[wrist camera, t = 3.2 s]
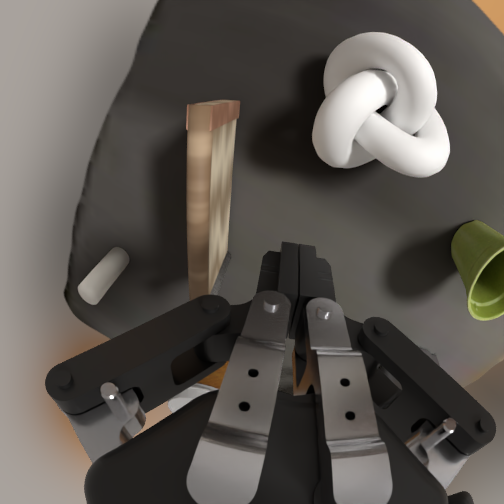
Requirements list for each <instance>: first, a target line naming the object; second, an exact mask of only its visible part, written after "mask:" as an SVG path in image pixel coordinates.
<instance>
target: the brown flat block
mask: <svg viewBox="0 0 504 504" xmlns="http://www.w3.org/2000/svg"><path fill="white" fill-rule="evenodd" d="M239 108H240V101H235V100H217V101H209V102H202V103H196V104H190V105H187V124H186V130H188V136H187V251H188V276H189V295H190V301H191V300H193V299H195V298H197V297H199V296H202V295H207V294H210V293H211V291H212V288H213V285H214V283H215V280H216V278H217V275H218V273H219V270H220V268H221V265H222V263H223V260H224V258H225V255H226V253H227V249H228V231H229V214H230V198H231V183H232V169H233V155H234V142H235V130H236V119H237V118H239Z"/></svg>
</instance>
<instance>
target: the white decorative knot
mask: <svg viewBox="0 0 504 504" xmlns="http://www.w3.org/2000/svg"><path fill="white" fill-rule="evenodd" d="M371 68H380V69H385V70H386V71H388V72H384V71H377V70H367V69H371ZM365 70H366V71H365ZM324 92H325V96H326V98H325V100H324V101H323V103H322V105H321V106H320V108H319V110H318V112H317V115H316V117H315V122H314V126H313V132H312V142H313V145H314V148H315V150H316V152H317V154H318V156H319V157H320V158H321V160H323V161H324V162H326V163H327V164H328V165H330V166H332V167H337V168H353V167H357V166H360V165H363V164H365V163H367V162H370V161H372V160H374V159H378V160H379V161H380V162H381V163H383V164H384V165H386V166H387V167H389V168H391V169H393V170H395V171H397V172H399V173H402V174H405V175H408V176H411V177H419V178H421V177H428V176H430V175H433V174H435V173H437V172H439V171H440V170H441V169H442V168H443V167H444V166H445V164H446V162H447V159H448V156H449V153H450V143H449V138H448V134H447V130H446V127H445V125H444V123H443V121H442V119H441V117H440V115H439V114H438V112H437V111H436V109H435V108H434V107H435V105H436V100H437V88H436V80H435V76H434V72H433V70H432V68H431V66H430V64H429V62H428V61H427V60H426V58H425V57H424V56H423V55H422V53H421V52H419V51H418V50H417V49H416V48H415V47H414V46H412V45H411V44H409V43H408V42H406V41H404V40H402V39H400V38H399V37H397V36H393V35H390V34H387V33H379V32H369V33H363V34H359V35H356V36H354V37H351V38H349V39H346V40H345V41H343V42H342V43H340V44H339V45H338V46H337V47H336V48H335V49H334V50H333V51H332V53H331V55H330V56H329V58H328V60H327V63H326V66H325V70H324ZM383 105H388V107H387V108H386V109H385V110H384V111H383V112H381V113H380V114H378V113H377V112H376V110H377V109H379V108H380V107H382V106H383ZM414 133H415V136H416V137H413V136H411V135H413V134H414Z"/></svg>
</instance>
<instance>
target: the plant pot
mask: <svg viewBox="0 0 504 504" xmlns="http://www.w3.org/2000/svg"><path fill="white" fill-rule="evenodd" d="M451 254H452V258H453V260H454V262H455V264H456V267H457V269H458V271H459V273H460V276H461V278H462V280H463V283H464V285H465V288H466V294H467V307H468V310H469V312H470V314H471V315H472V316H473V317H474V318H475V319H478V320H481V321H486V320H492V319H494V318H497V317H499V316H501V315H503V314H504V236H503V235H501V234H500V233H498V232H497V231H495V230H494V229H492V228H491V227H489V226H488V225H486V224H484V223H483V222H481V221H478V220H474V221H473V222H469V223H466V224H464V225H462V226H461V227H460V228H459V229H458V231H457V232H456V233H455V235H454V237H453V240H452V243H451Z"/></svg>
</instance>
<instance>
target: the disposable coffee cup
mask: <svg viewBox="0 0 504 504" xmlns="http://www.w3.org/2000/svg"><path fill="white" fill-rule="evenodd" d="M228 363H229V361H227V362H226V363H225V365H223V366H222V367H221V368H219V369H218V370H216V371H215V372H213V373H211V374H210V375H208V376H207V377H205V378H204V379H202V380H200V381H199V382H197V383H196V384H194V385H192V386H191V387H189V388H188V389H186V390H184V391H183V392H181V393H179V394H178V395H176V396H174V397H173V398H171V399H169V400H168V407H169V409H170V410H171V412H172V413H174V412H175V411H177V410H178V409H180V408H181V407H183V406H184V405H186V404H187V403H189V402H190V401H191V400H193V399H195V398H196V397H198V396H200V395H202V394H205V393H207V392H210V391H214V390H219V389H220V387H221V384H222V381H223V378H224V375H225V372H226V369H227V366H228Z"/></svg>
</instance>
